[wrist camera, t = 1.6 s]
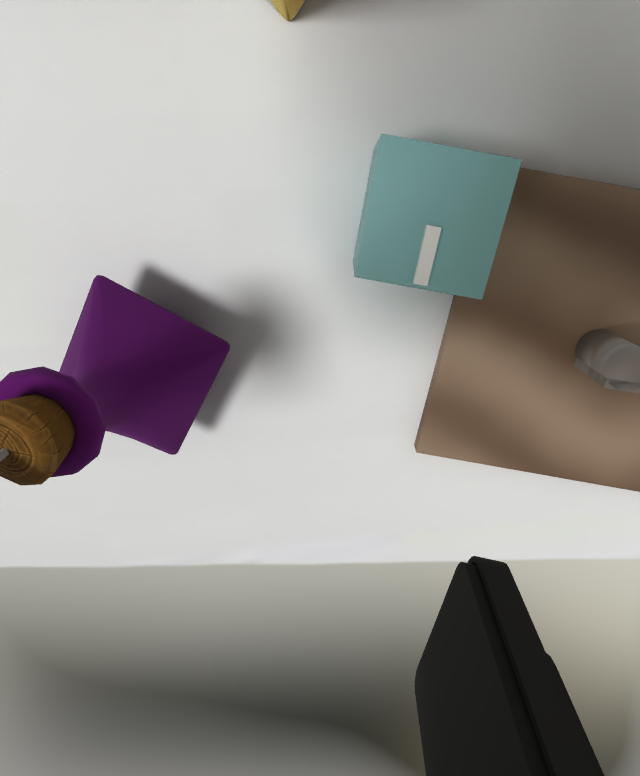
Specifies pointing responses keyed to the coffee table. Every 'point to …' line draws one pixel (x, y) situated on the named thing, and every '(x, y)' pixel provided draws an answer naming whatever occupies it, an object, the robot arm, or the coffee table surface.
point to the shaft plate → (548, 341)
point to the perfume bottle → (107, 387)
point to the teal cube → (433, 215)
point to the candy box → (287, 7)
